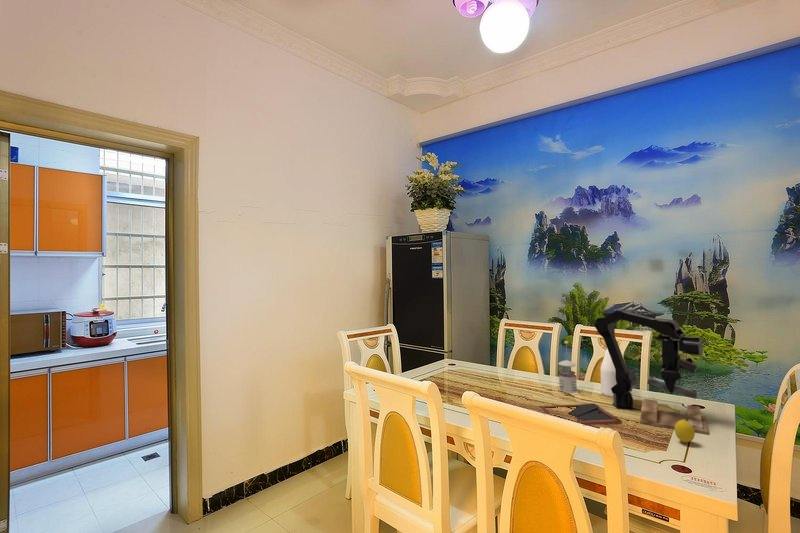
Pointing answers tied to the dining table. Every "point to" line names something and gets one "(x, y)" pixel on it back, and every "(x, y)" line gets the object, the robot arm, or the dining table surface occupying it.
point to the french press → (567, 381)
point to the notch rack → (671, 417)
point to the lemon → (684, 431)
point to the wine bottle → (607, 375)
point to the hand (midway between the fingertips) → (671, 391)
